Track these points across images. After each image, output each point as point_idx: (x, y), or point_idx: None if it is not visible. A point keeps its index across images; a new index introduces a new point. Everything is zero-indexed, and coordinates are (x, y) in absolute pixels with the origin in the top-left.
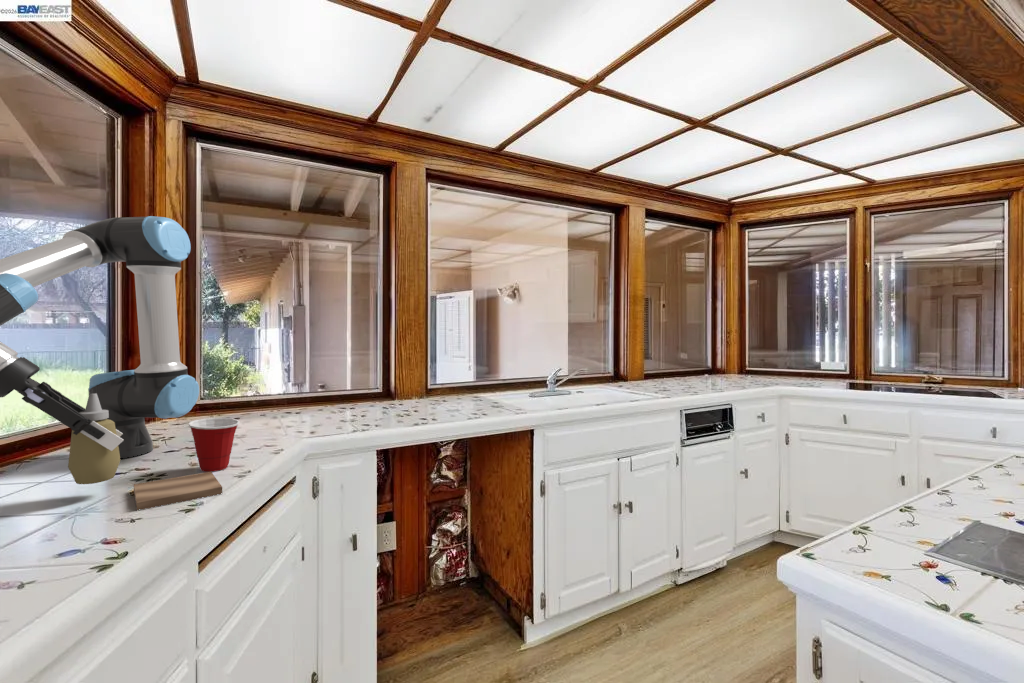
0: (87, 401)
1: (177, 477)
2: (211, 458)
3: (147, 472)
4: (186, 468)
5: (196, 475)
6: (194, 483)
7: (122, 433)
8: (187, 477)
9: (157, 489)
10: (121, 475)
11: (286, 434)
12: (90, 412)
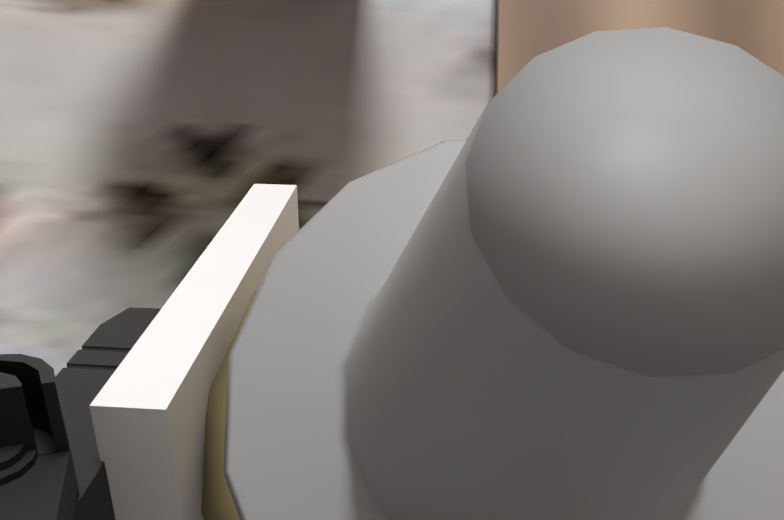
0: (600, 510)
1: (507, 82)
2: None
3: (68, 208)
4: (162, 33)
5: (536, 1)
6: (723, 29)
7: (266, 185)
8: (550, 42)
9: None
10: (7, 339)
11: None
12: (738, 467)
